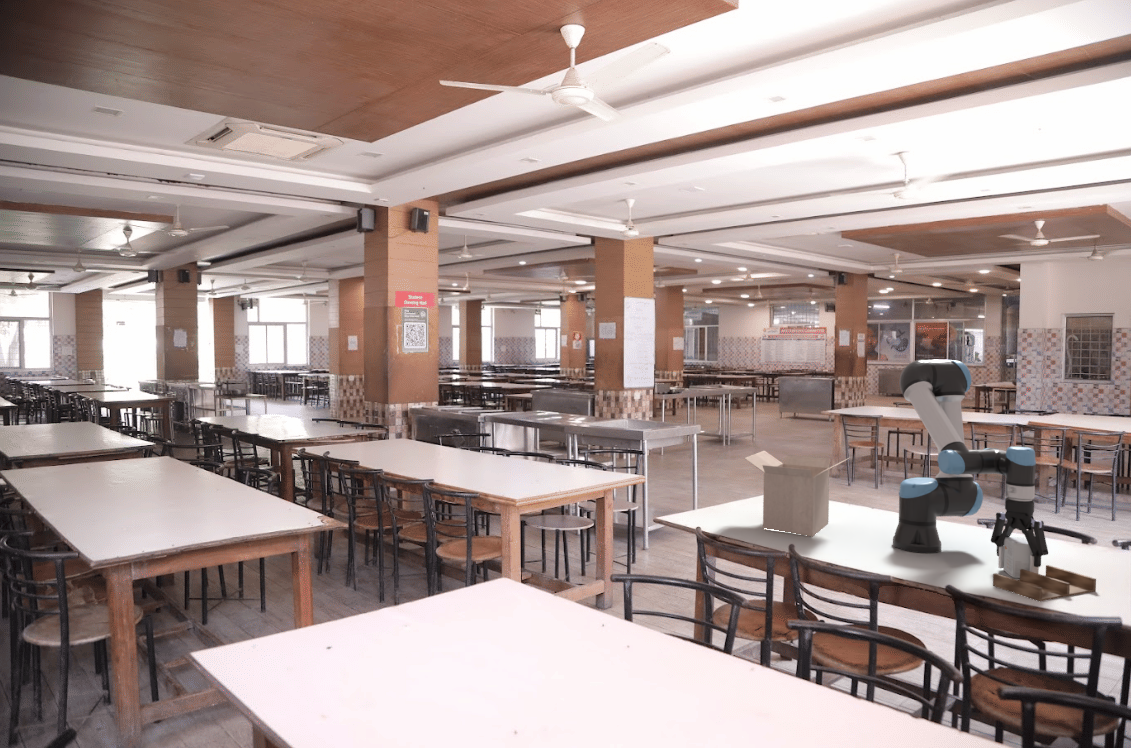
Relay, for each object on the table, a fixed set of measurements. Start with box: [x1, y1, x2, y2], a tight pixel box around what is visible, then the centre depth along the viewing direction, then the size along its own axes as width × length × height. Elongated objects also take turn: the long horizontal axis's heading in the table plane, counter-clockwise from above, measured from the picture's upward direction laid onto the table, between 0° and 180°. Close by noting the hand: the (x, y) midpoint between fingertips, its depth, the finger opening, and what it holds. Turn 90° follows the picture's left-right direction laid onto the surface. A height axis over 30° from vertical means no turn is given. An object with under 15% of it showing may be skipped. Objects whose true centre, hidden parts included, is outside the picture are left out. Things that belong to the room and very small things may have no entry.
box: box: [743, 450, 851, 538], centre depth 286 cm, size 33×31×26 cm
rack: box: [992, 564, 1097, 602], centre depth 216 cm, size 14×23×4 cm, turn 112°
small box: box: [1002, 536, 1033, 579], centre depth 228 cm, size 8×6×10 cm
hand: (1017, 572), depth 228 cm, fingers open, 9 cm apart
